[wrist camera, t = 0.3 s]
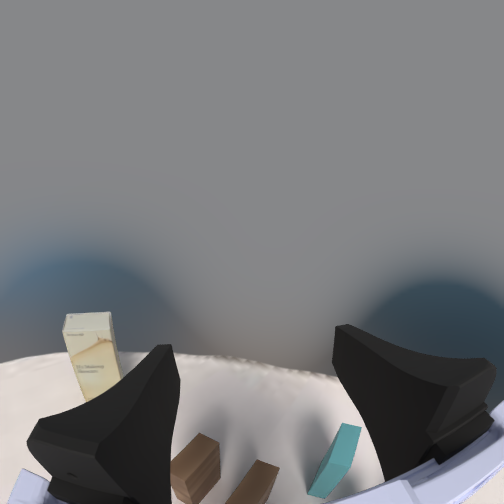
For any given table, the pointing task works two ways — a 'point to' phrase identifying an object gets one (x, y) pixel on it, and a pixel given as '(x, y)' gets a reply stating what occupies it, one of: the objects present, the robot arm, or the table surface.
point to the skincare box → (92, 352)
